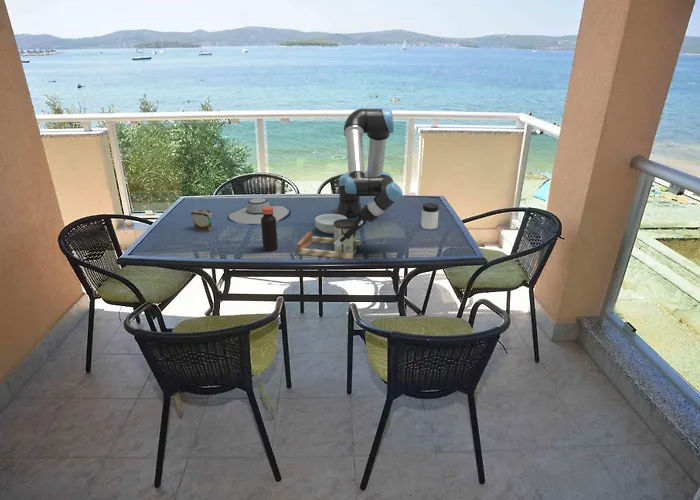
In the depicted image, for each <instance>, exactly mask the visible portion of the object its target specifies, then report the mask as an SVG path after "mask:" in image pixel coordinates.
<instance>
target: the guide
mask: <svg viewBox="0 0 700 500" xmlns="http://www.w3.org/2000/svg"><path fill="white" fill-rule="evenodd" d="M312 243H316V244H328V245H330V244H331V245H334V237H326V236H323V237H322V236H313V232H312V231H311V230H309V231H307V232H306V233H305V235H303V237H302V238H301V239H300V240H299V241H298V242H297V244H296V254H297V255H304V256H314V257H325V258H334V259H335V258H336V259H348V260H353V259H354V253H351V252H339V251H334V250H325V249H317V248H316V249H314V248H312V249H311V248H309V246H310V245H311V244H312ZM360 246H361V240H360V239H356V247H360Z"/></svg>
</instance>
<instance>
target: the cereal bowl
mask: <svg viewBox="0 0 700 500" xmlns="http://www.w3.org/2000/svg"><path fill="white" fill-rule="evenodd" d="M340 219H348V218H347V217H345V216H343V215H339V214H336V213H323V214H320V215H317V216H316V217H315V219H314V223H315V226H316V228H317V229H318V230H319V231H321V232H323V233H325V234H327V235H328V234H329V235H334V221H336V220H340Z"/></svg>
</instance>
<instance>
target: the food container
mask: <svg viewBox="0 0 700 500" xmlns="http://www.w3.org/2000/svg"><path fill="white" fill-rule="evenodd" d="M190 215H191V218H192V221H193V226H194V229H195V230H197V231H203V232H206V233H209V232H211V231H212V217H213V213H212V211H211V210H210V209H207V208H206V209H205V208H202V209H201V208H199V209H193V210H190Z"/></svg>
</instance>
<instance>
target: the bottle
mask: <svg viewBox="0 0 700 500" xmlns="http://www.w3.org/2000/svg"><path fill="white" fill-rule="evenodd" d="M262 213H263V217H262V218H261V235H262V236H261V238H262V248H263V250H264V251H265V252H266V251H267V252H273V251H276V250H278V248H279V247H278V243H279V242H278V232H277V221H276V218H275V217H274V216H273V208H272V207H264V208H262Z"/></svg>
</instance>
